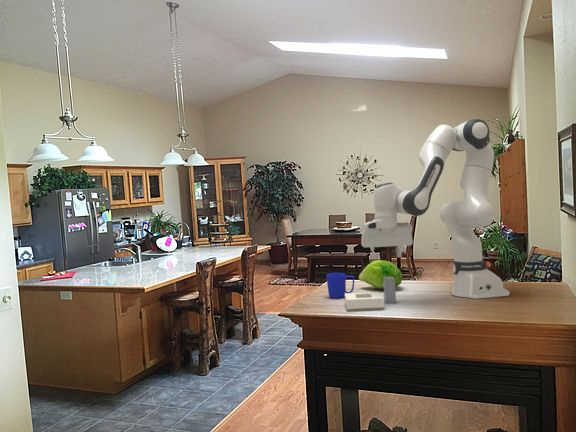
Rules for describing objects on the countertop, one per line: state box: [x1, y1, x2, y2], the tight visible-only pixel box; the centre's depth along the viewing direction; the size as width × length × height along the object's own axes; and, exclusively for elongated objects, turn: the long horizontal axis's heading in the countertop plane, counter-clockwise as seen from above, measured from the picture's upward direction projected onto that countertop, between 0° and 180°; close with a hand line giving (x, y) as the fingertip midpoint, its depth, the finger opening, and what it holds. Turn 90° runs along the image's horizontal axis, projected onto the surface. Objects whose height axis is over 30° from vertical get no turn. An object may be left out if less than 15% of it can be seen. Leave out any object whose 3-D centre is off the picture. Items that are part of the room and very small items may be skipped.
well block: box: [344, 291, 385, 313], centre depth 200 cm, size 14×12×4 cm
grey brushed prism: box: [383, 277, 397, 305], centre depth 205 cm, size 4×5×10 cm
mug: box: [325, 272, 355, 299], centre depth 220 cm, size 8×12×10 cm
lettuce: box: [358, 259, 403, 290], centre depth 232 cm, size 15×20×14 cm
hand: (387, 257), depth 204 cm, fingers open, 8 cm apart
